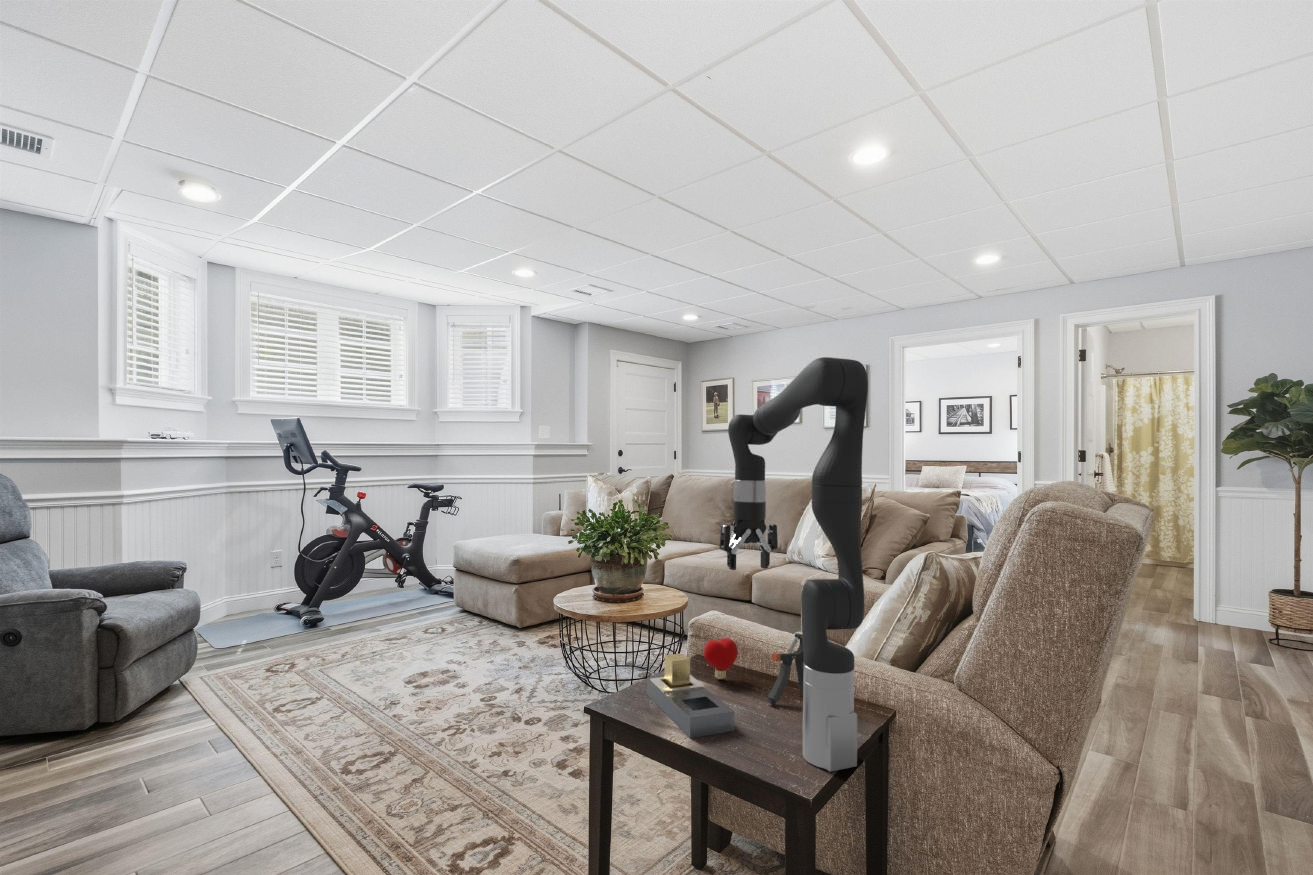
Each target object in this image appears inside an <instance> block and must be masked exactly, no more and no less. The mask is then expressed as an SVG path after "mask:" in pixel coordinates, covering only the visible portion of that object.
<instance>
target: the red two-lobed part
mask: <svg viewBox="0 0 1313 875" xmlns="http://www.w3.org/2000/svg"><path fill="white" fill-rule="evenodd" d="M738 649H739V648H738V645H737V644H736V642H734V640H732V639H731V638H727V637H724V638H721V639H719V640H716V639H711V640H709V641H708V642H707V643H706V645H705V647H704V649H703V656H704V660H705V661H706V663H708V665H709V666H711V667H713V668H714V677H715V678H716V679H717V680H718V681H723V680H724V679H726V677H727V675H726V674H727V670H728V669H730V667H732V666H733V665H734V663H735V662H736V660H737V658H738V655H739V654H738V653H739V652H738Z"/></svg>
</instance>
